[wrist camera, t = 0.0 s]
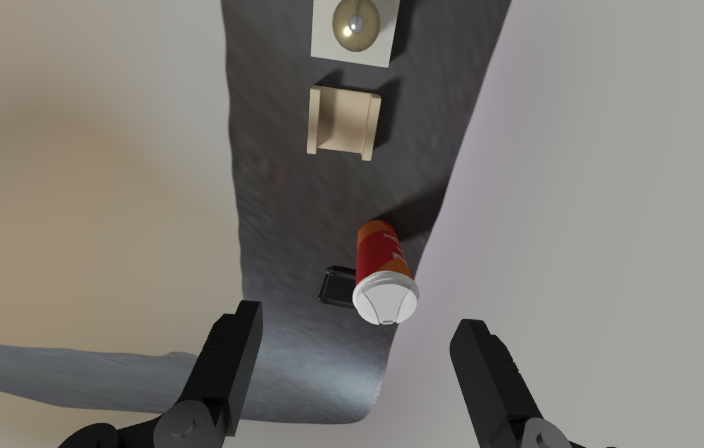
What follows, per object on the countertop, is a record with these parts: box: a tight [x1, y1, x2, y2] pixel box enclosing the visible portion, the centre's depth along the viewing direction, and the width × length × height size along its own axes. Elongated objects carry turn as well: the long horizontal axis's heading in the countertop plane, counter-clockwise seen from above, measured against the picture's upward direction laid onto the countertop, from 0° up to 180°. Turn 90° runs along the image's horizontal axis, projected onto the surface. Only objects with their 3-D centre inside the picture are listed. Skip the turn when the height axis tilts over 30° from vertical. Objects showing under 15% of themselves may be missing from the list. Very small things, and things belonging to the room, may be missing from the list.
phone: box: [318, 267, 357, 310], centre depth 51 cm, size 8×1×15 cm
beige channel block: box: [307, 85, 381, 161], centre depth 35 cm, size 7×8×3 cm
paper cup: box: [353, 220, 419, 325], centre depth 39 cm, size 8×8×14 cm
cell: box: [332, 0, 380, 52], centre depth 25 cm, size 4×4×8 cm
